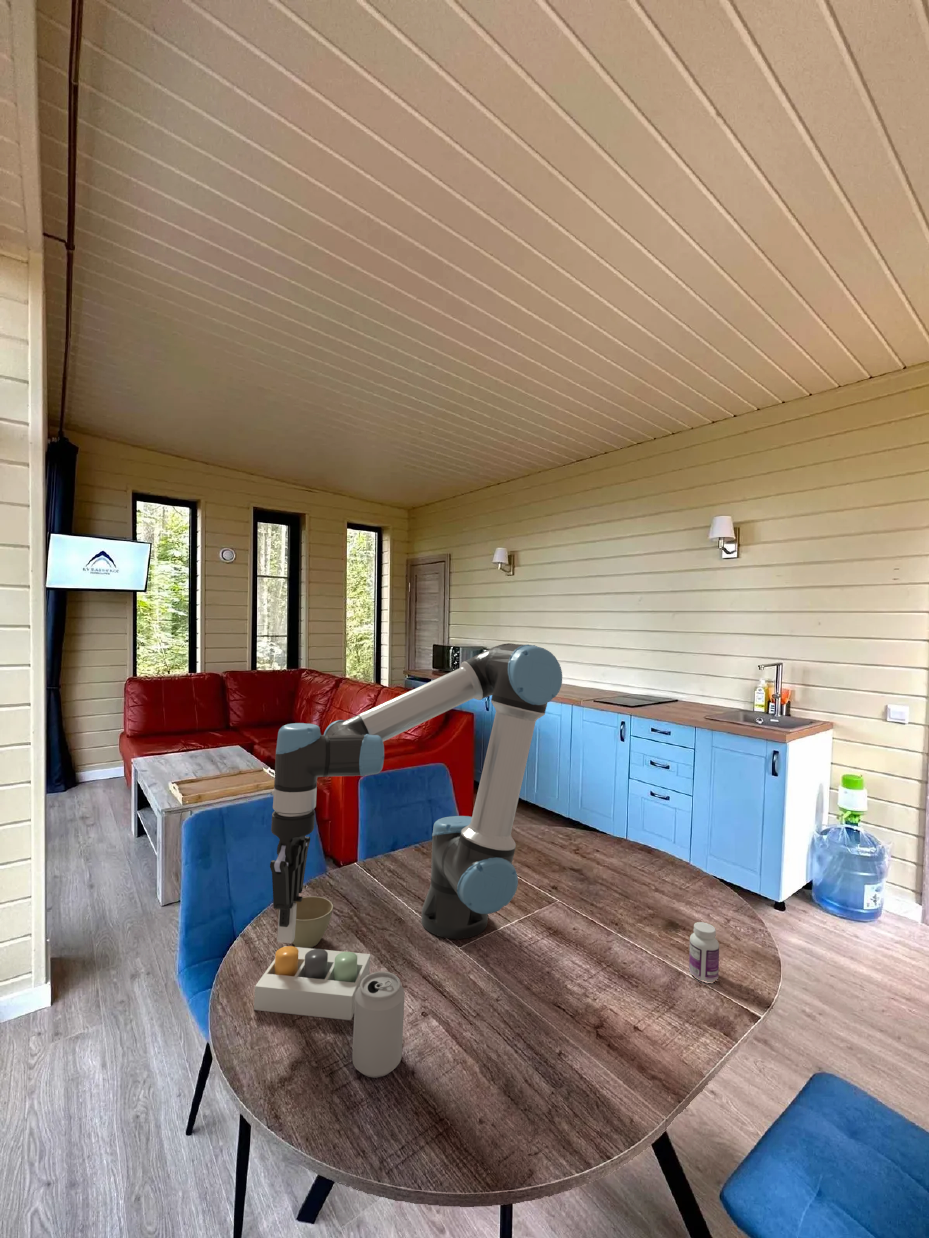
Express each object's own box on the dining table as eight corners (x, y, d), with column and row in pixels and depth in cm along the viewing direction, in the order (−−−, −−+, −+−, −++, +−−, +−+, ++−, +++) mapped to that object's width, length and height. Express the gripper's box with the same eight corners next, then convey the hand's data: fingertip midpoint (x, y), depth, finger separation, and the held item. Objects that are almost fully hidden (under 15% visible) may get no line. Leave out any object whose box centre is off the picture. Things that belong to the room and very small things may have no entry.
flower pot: (317, 959, 108) (319, 923, 108) (272, 951, 110) (273, 915, 110) (339, 932, 118) (340, 899, 118) (296, 925, 120) (298, 892, 120)
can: (354, 1043, 87) (358, 967, 87) (402, 1042, 87) (405, 966, 88) (348, 1082, 79) (352, 999, 80) (400, 1081, 80) (404, 998, 80)
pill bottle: (716, 971, 110) (718, 923, 110) (719, 987, 105) (721, 936, 105) (687, 964, 112) (689, 917, 112) (689, 980, 107) (691, 930, 107)
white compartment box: (369, 975, 104) (370, 954, 104) (350, 1020, 92) (352, 996, 92) (283, 966, 105) (284, 945, 105) (253, 1009, 93) (255, 986, 93)
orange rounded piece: (300, 968, 101) (301, 947, 101) (292, 982, 97) (293, 960, 97) (280, 966, 101) (281, 945, 101) (270, 980, 97) (271, 957, 97)
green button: (359, 974, 100) (360, 952, 100) (352, 988, 96) (353, 966, 96) (337, 972, 100) (338, 950, 100) (330, 986, 96) (331, 963, 96)
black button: (329, 971, 100) (330, 949, 100) (322, 985, 96) (323, 963, 96) (308, 969, 101) (309, 947, 101) (300, 983, 97) (301, 960, 97)
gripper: (288, 797, 106) (280, 919, 106) (257, 820, 93) (248, 959, 93) (326, 800, 106) (318, 923, 105) (300, 823, 93) (291, 964, 92)
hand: (285, 940), depth 99 cm, fingers closed
